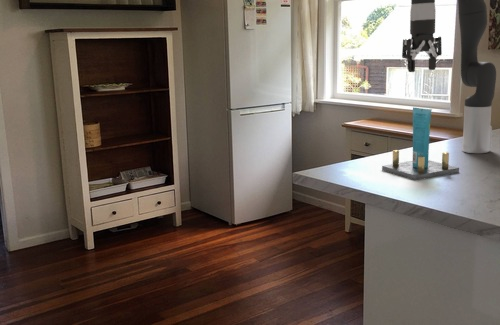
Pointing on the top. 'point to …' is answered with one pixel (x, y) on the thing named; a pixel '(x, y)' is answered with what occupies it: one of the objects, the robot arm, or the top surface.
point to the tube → (421, 134)
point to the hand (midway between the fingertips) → (421, 70)
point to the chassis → (420, 167)
